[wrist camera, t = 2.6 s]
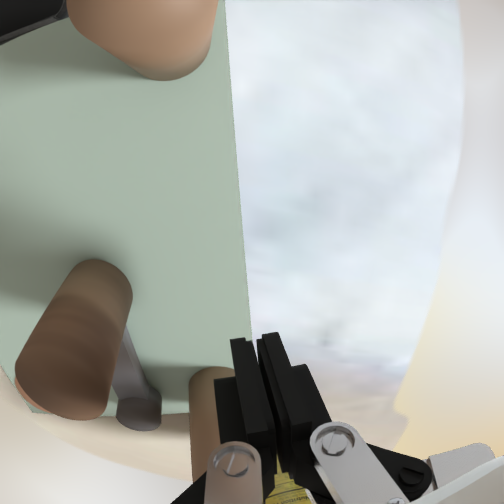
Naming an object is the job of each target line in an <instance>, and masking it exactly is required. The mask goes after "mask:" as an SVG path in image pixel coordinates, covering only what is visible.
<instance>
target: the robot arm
mask: <svg viewBox="0 0 504 504" xmlns="http://www.w3.org/2000/svg"><path fill="white" fill-rule="evenodd" d="M230 346H231V353H232V359H233V366H234V372H235V376H233V377H226V378H218V379H214V392H215V401H216V410H217V419H218V428H219V436H220V444H221V445H219V446H218V447H217V448H215V449H214V450H213V451H212V453H211V454H210V455H209V459H208V464H207V471H206V472H205V473H204V474H203V475H201V476H200V477H199V478H198V479H197V480H196V481H195V482H194V483H193V484H192V485H191V486H190V487H189V488H187V489H186V490H185V491H184V492H183V493H182V494H181V495H180V496H179V497H178V498H176V499H175V500H174V501H173V502H172V503H171V504H266V498H267V497H268V496H269V495H270V494H271V492H272V491H273V490H274V489H275V477H274V475H276V474H277V457H278V461H279V464H280V468H281V471H282V473H286V472H288V474H289V478H290V480H291V479H294V482H295V484H296V485H298V486H301V487H303V488H305V491H306V494H307V495H308V497H309V499H310V501H311V503H312V504H504V455H503V456H500V457H497V458H495V456H494V453H493V451H492V450H491V448H490V447H488V446H487V445H485V444H482V443H475V444H471V445H468V446H465V447H462V448H459V449H455V450H452V451H448V452H444V453H440V454H436V455H432V456H429V458H428V459H425V460H420V459H417V458H414V457H410V456H407V455H403V454H400V453H396V452H393V451H390V450H386V449H383V448H380V447H377V446H374V445H371V444H368V443H365V441H364V440H363V439H362V437H361V436H360V435H359V433H358V432H357V431H356V430H355V429H354V428H353V427H352V426H350V425H348V424H346V423H342V422H332V420H331V418H330V416H329V414H328V411H327V409H326V407H325V405H324V402H323V400H322V398H321V396H320V393H319V391H318V389H317V387H316V384H315V382H314V380H313V378H312V375H311V373H310V371H309V369H308V367H307V365H306V364H302V365H297V366H292V367H291V364H290V362H289V359H288V356H287V354H286V351H285V349H284V346H283V344H282V341H281V338H280V336H279V333H278V332H274V333H268V334H262V339H257V353H258V361H257V357H256V353H255V350H254V346H253V342H252V340H250V341H246V338H245V337H242V338H235V339H230ZM258 364H259V365H258Z"/></svg>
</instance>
